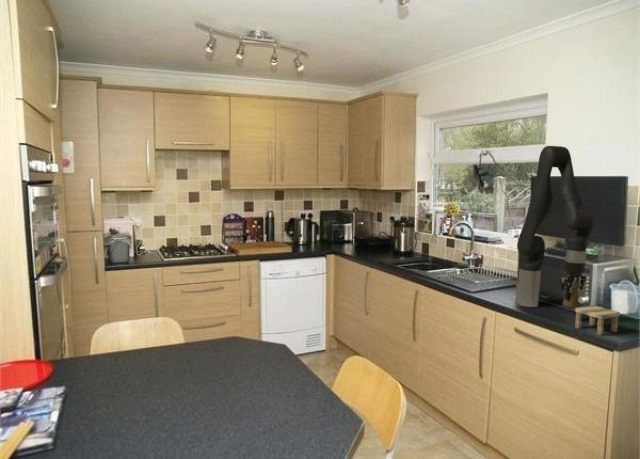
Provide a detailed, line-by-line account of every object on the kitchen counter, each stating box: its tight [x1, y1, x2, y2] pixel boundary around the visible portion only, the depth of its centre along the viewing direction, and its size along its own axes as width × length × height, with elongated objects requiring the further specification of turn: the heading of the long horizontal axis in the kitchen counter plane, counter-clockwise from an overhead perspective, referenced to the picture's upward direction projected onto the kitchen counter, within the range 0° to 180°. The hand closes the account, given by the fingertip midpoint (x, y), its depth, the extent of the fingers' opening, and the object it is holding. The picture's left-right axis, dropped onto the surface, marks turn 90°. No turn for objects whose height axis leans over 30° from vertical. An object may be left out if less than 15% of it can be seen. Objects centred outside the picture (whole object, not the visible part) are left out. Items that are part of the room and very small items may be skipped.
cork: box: [562, 281, 580, 309], centre depth 197 cm, size 6×6×11 cm
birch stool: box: [574, 304, 621, 336], centre depth 186 cm, size 11×11×8 cm
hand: (571, 300), depth 198 cm, fingers closed on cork, 3 cm apart
